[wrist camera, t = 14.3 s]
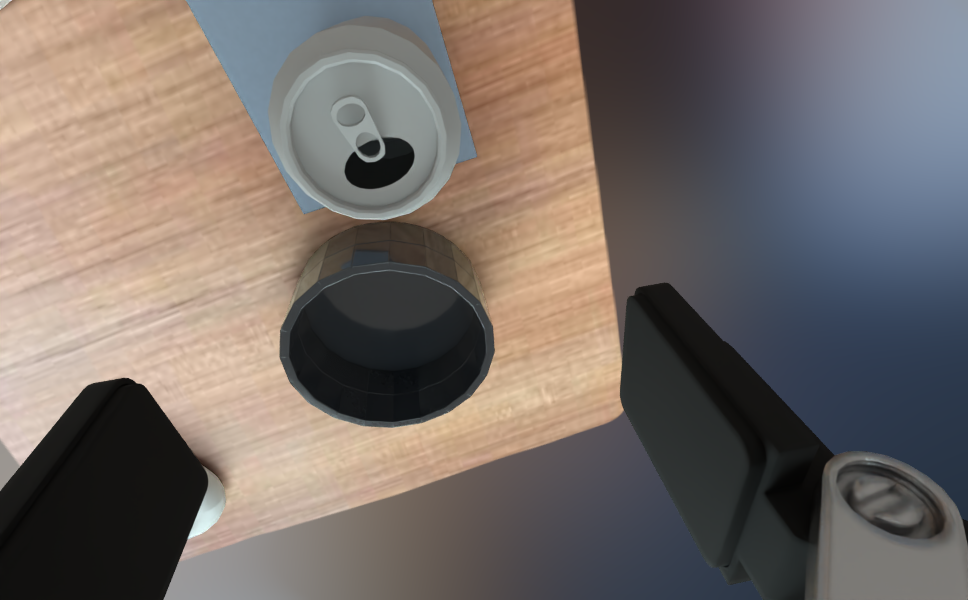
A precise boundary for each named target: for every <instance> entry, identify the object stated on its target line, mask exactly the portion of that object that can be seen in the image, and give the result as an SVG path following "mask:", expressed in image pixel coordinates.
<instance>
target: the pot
mask: <svg viewBox="0 0 968 600" xmlns="http://www.w3.org/2000/svg"><path fill="white" fill-rule="evenodd" d="M494 352H495V348H494V334H493V325H492V322H491V318H490V314H489V311H488V307H487V304H486V300H485V297H484V293H483V289H482V286H481V282H480V280H479V278H478V276H477V274H476V272H475V269H474V267H473V266H472V264H471V262H470V260H469V259H468V258H467V257H466V256H465V254H464V253H463V252H462V251H461V250H460V249H459V248H458V247H457V246H456V245H454V244H453V243H452V242H451V241H449V240H448V239H446V238H445V237H443V236H442V235H440V234H438V233H436V232H434V231H432V230H429V229H426V228H423V227H421V226H417V225H413V224H408V223H400V222H376V223H369V224H364V225H360V226H356V227H353V228H351V229H348V230H346V231H343V232H341V233H339V234H338V235H336V236H334V237H332V238H331V239H330V240H328V241H327V242H326V243H324V244H323V245H322V246H321V247H320V248H319V249H318V250H317V251H316V252H315V253H314V254H313V255H312V256H311V257H310V258H309V260H308V262H307V264H306V266H305V268H304V270H303V272H302V274H301V276H300V278H299V280H298V283H297V285H296V288H295V291H294V293H293V296H292V299H291V302H290V304H289V307H288V310H287V313H286V315H285V318H284V321H283V324H282V326H281V330H280V360H281V362H282V364H283V367H284V369H285V372H286V374H287V377H288V379H289V382H290V383H291V384H292V386H293V387H294V388H295V389H296V390H297V391H298V392H299V393H300V394H301V395H302V396H303V397H304V398H305V400H306V401H307V402H308V403H310V404H311V405H313V406H315V407H316V408H318V409H320V410H322V411H323V412H325V413H327V414H328V415H330V416H332V417H334V418H337V419H340V420H344V421H347V422H351V423H354V424H358V425H361V426H371V427H389V428H393V427H400V426H407V425H413V424H419V423H423V422H426V421H428V420H431V419H433V418H436V417H438V416H441V415H443V414H446V413H448V412H450V411H451V410H453V409H454V408H456V407H457V406H458V405H460V404H461V403H462V402H464V401H465V400H467V399H468V398H469V397H471V396H472V394H473V393H474V392H475V390H476V389H477V388H478V387H479V385H480V384H481V383H482V381H483V380H484V379H485V378H486V376H487V374H488V371H489V368H490V365H491V361H492V358H493V355H494Z"/></svg>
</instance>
